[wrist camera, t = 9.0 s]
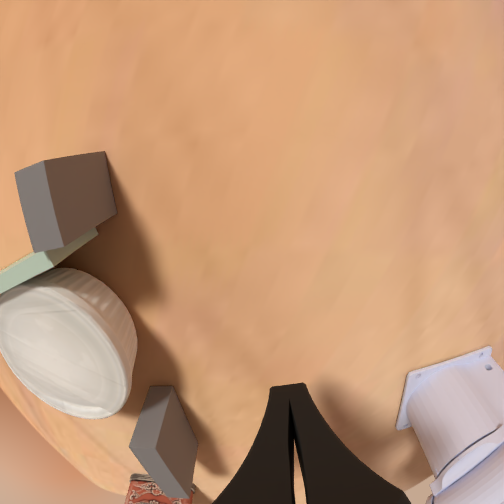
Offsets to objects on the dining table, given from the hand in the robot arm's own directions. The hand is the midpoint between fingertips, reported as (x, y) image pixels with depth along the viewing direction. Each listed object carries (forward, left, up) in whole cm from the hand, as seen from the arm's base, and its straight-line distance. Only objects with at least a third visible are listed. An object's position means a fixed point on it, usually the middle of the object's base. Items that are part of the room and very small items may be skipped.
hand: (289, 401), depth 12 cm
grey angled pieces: (+10, +2, -9) cm, 14 cm away
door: (+17, -6, -9) cm, 20 cm away
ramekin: (+15, 0, -10) cm, 18 cm away
